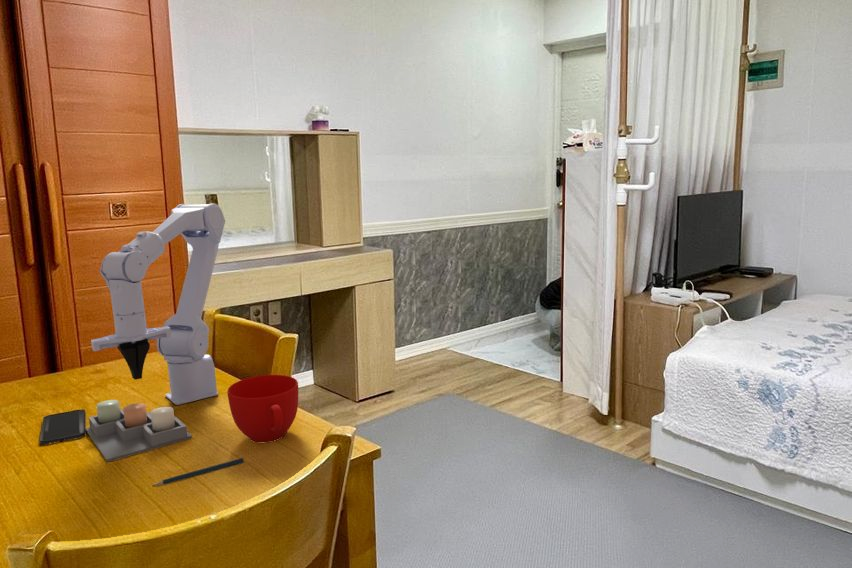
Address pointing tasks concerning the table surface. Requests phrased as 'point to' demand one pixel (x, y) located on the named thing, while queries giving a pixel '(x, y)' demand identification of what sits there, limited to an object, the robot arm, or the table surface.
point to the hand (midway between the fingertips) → (137, 377)
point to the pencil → (199, 472)
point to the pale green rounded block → (108, 411)
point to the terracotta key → (135, 415)
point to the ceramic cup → (264, 406)
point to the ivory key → (162, 418)
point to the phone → (63, 426)
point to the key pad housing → (132, 437)
